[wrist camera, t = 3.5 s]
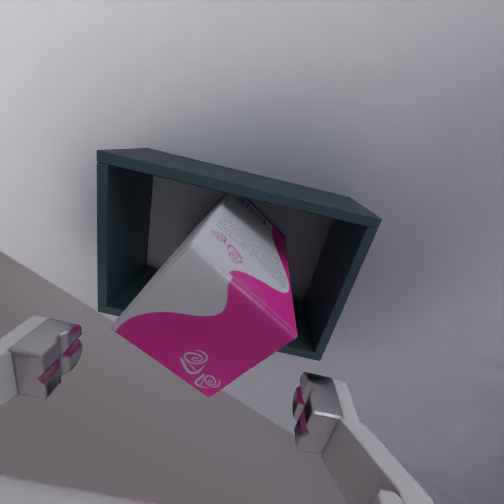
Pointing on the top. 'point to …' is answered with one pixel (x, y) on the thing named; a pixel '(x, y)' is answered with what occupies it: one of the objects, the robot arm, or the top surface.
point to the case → (237, 183)
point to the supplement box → (216, 299)
